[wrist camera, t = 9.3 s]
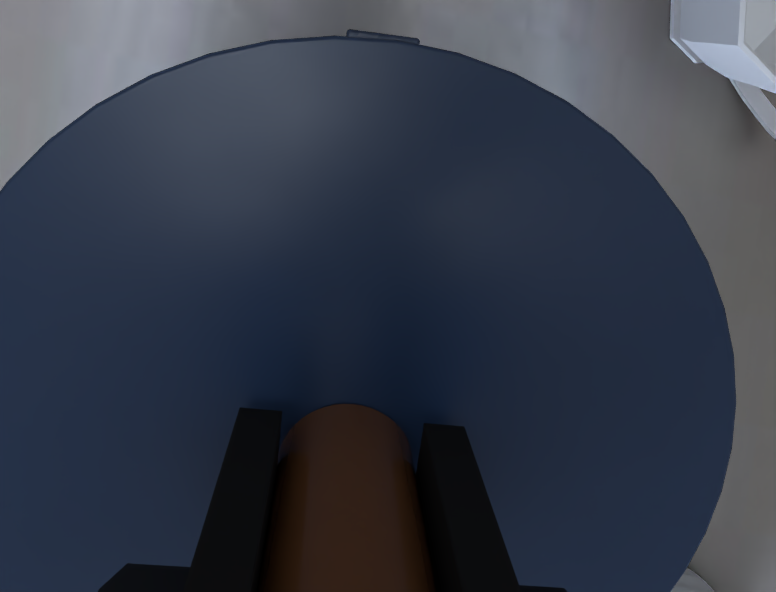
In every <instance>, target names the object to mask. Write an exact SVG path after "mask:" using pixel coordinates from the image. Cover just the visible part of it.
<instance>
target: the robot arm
mask: <svg viewBox="0 0 776 592" xmlns="http://www.w3.org/2000/svg"><path fill="white" fill-rule="evenodd" d="M281 420H282V411H277V410H265V409H253V408H241V407H240V408H239V411H238V415H237V418H236V421H235V424H234V427H233V431H232V434H231V437H230V440H229V444H228V447H227V450H226V453H225V457H224V460H223V463H222V466H221V470H220V473H219V476H218V479H217V483H216V486H215V489H214V492H213V495H212V499H211V502H210V505H209V508H208V512H207V515H206V518H205V521H204V525H203V528H202V531H201V534H200V538H199V541H198V544H197V547H196V550H195V554H194V557H193V560H192V563H191V567H181V566H165V565H149V564H132V563H127V564H126V565H125V566H124V567H123V568H122V569H120V570H119V571H118V572H117V573H116V574H115V575H114V576H113V577H112V578H111V579H110V580H108V581H107V582H106V583H105V584H104V585H103V586H102V587H101V588H100V589H99V590H98V592H256V591H257V585H258V579H259V573H260V567H261V561H262V555H263V549H264V543H265V537H266V531H267V525H268V519H269V513H270V507H271V501H272V495H273V489H274V483H275V477H276V471H277V464H278V453H279V442H280V431H281ZM416 480H417V485H418V491H419V496H420V502H421V507H422V513H423V518H424V524H425V529H426V534H427V540H428V545H429V551H430V556H431V562H432V567H433V573H434V578H435V584H436V589H437V592H567V591H566V590H565V588H557V587H541V586H526V585H519V583H518V580H517V577H516V574H515V572H514V569H513V566H512V563H511V560H510V557H509V554H508V551H507V548H506V545H505V543H504V540H503V537H502V534H501V531H500V528H499V525H498V522H497V519H496V517H495V514H494V511H493V508H492V505H491V502H490V499H489V496H488V493H487V490H486V488H485V485H484V482H483V479H482V476H481V473H480V470H479V467H478V464H477V462H476V459H475V456H474V453H473V450H472V447H471V444H470V441H469V438H468V436H467V433H466V430H465V427H464V426H454V425H442V424H430V423H424V426H423V432H422V438H421V445H420V451H419V457H418V464H417V470H416Z"/></svg>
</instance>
